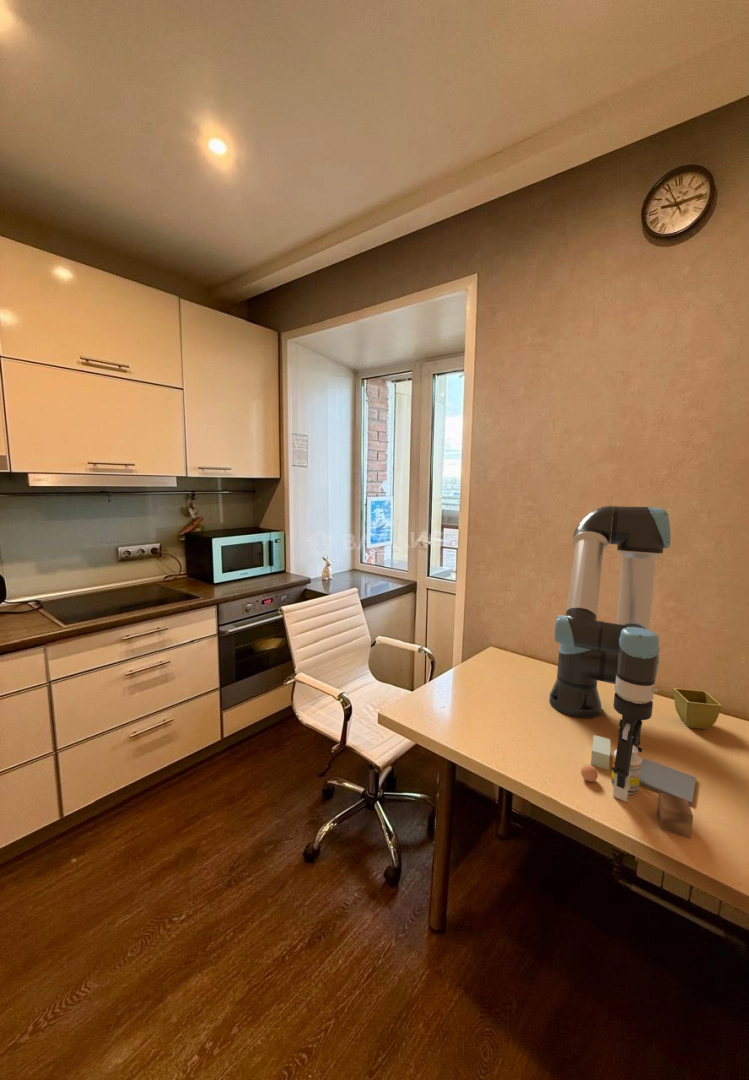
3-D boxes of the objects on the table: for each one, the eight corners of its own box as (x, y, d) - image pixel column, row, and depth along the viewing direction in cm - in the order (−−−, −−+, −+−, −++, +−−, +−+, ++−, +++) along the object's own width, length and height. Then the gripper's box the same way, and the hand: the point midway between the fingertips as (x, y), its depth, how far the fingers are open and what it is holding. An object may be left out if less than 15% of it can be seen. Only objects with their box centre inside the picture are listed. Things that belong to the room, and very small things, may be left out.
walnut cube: (660, 829, 87) (663, 807, 86) (656, 813, 91) (659, 792, 91) (690, 838, 85) (693, 816, 84) (684, 821, 89) (687, 799, 89)
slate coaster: (634, 782, 101) (634, 779, 101) (642, 760, 109) (643, 757, 109) (691, 805, 94) (692, 802, 93) (695, 780, 102) (696, 777, 102)
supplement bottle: (613, 776, 103) (617, 736, 102) (640, 786, 99) (644, 746, 98) (608, 788, 99) (612, 747, 97) (636, 799, 95) (640, 757, 94)
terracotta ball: (578, 780, 101) (579, 766, 101) (582, 772, 104) (583, 759, 103) (594, 787, 99) (596, 773, 98) (598, 779, 102) (600, 765, 101)
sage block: (590, 765, 107) (591, 750, 107) (592, 748, 114) (593, 734, 114) (608, 770, 105) (609, 755, 105) (609, 753, 112) (610, 739, 112)
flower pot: (718, 734, 121) (722, 705, 120) (684, 730, 123) (688, 701, 122) (702, 718, 130) (705, 690, 129) (670, 715, 132) (673, 687, 130)
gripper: (644, 721, 86) (634, 822, 88) (660, 685, 102) (650, 770, 105) (603, 708, 90) (594, 804, 93) (624, 675, 107) (616, 757, 110)
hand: (624, 786), depth 99 cm, fingers open, 9 cm apart
